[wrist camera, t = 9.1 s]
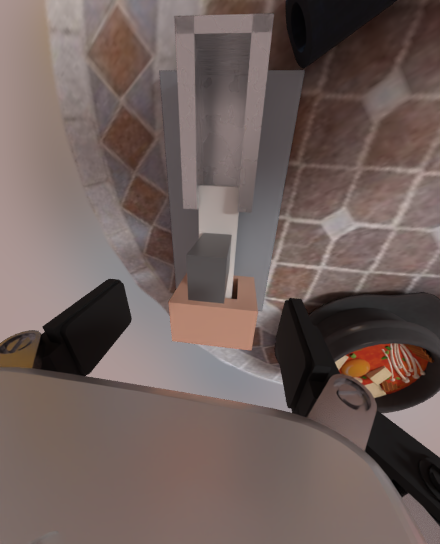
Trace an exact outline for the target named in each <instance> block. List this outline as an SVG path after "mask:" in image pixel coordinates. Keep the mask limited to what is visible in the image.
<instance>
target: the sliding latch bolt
mask: <svg viewBox="0 0 440 544" xmlns="http://www.w3.org/2000/svg"><path fill="white" fill-rule="evenodd" d="M198 191H199V239H198V240H197V242H196V243H195V244H194V246H193V247H192V248H191V250H190V251H189V252H188V253H187V255H186V261H187V284H188V300H193V301H203V302H213V303H223V304H224V301H225V298H228V299H232V288H233V276H234V264H235V252H236V240H237V228H238V216H239V212H237V210H238V197H239V186H221V185H198Z"/></svg>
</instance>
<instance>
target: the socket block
mask: <svg viewBox="0 0 440 544" xmlns="http://www.w3.org/2000/svg"><path fill="white" fill-rule="evenodd" d="M168 304H169V313H170V323H171V333H172V341H177V342H185V343H193V344H201V345H210V346H218V347H226V348H235V349H243V350H252V344H253V338H254V332H255V326H256V320H257V314H258V308H257V299H256V290H255V282H254V277H246V276H235V275H234V276H233V288H232V299H228V298H225V301H224V304H223V303H213V302H203V301H193V300H188V284H187V273H186V275H185V276H184V278H183V279H182V281H181V283H180V284H179V286H178V288H177V289H176V291H175V292H174V294H173V296H172V297H171V299H170V300H169V302H168Z"/></svg>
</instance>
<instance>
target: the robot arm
mask: <svg viewBox="0 0 440 544" xmlns="http://www.w3.org/2000/svg"><path fill="white" fill-rule="evenodd" d="M130 323H131V314H130V309H129V306H128V301H127V297H126V293H125V288H124V284H123V283H121V281H120V280H116V279H108V280H106V281H105V282H103V283H102V284H101V285H99V286H98V287H97V288H95V289H94V290H93V291H91V292H90V293H88V294H87V295H85V296H84V297H83V298H81V299H80V300H79V301H77V302H76V303H74V304H73V305H72V306H71V307H69V308H68V309H66V310H65V311H63V312H62V313H61V314H59V315H58V316H57V317H55V318H54V319H52V320H51V321H50V322H48V323H47V324H45V325H44V326H43V329H44V331H45V332H44V333H43V334H42V335H41V333H40V332H39V331H35V330H29V331H25V332H21V333H18V334H15V335H13V336H11V337H9V338H7V339H5V340H4V341H2V342H1V343H0V544H440V458H439V457H438V456H437V455H435V454H434V453H433V452H431V451H430V450H429V449H427V448H426V447H425V446H423V445H422V444H421V443H420V442H418V441H417V440H416V439H414V438H413V437H412V436H410V435H409V434H408V433H406V432H405V431H403V430H402V429H401V428H400V427H398V426H397V425H396V424H395V423H393V422H392V421H390V420H389V419H388V418H387V417H385V416H384V415H383V414H381V413H380V412H379V411H377V404H376V401H375V399H374V397H373V395H372V394H371V392H370V391H369V390H368V389H367V388H366V387H365V386H364V385H363V384H362V383H360V382H359V381H358V380H356V379H354V378H352V377H350V376H347V375H344V374H340V372H339V370H338V368H337V366H336V364H335V361H334V359H333V357H332V355H331V353H330V351H329V349H328V347H327V345H326V343H325V340H324V338H323V336H322V334H321V332H320V330H319V328H318V327H317V326H314V325H313V324H312V322H311V320H310V317H309V315H308V313H307V311H306V308H305V306H304V304H303V302H302V300H301V299H295V298H289V301H288V300H286V301H285V303H284V307H283V311H282V315H281V319H280V324H279V328H278V332H277V336H276V345H277V351H278V356H279V362H280V368H281V374H282V379H283V385H284V391H285V397H286V402H287V406H288V408H291V409H292V413H290V412H286V411H282V410H277V409H273V408H268V407H263V406H257V405H252V404H247V403H242V402H236V401H231V400H225V399H219V398H213V397H207V396H202V395H195V394H190V393H184V392H178V391H172V390H166V389H160V388H154V387H148V386H142V385H136V384H130V383H123V382H118V381H111V380H105V379H99V378H93V377H87V376H86V375H87V374H89V373H90V372H91V371H92V370H93V369H94V368H95V366H96V365H97V364H98V363H99V361H100V360H101V359H102V358H103V356H104V355H105V354H106V353H107V351H108V350H109V349H110V348H111V347H112V345H113V344H114V343H115V342H116V340H117V339H118V338H119V337H120V335H121V334H122V333H123V332H124V330H125V329H126V328H127V327H128V325H129V324H130Z"/></svg>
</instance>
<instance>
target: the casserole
mask: <svg viewBox="0 0 440 544" xmlns="http://www.w3.org/2000/svg"><path fill="white" fill-rule="evenodd" d="M309 317H310V320H311V322H312V324H313V325H314V326H317V327H318V328H319V330H320V332H321V334H322V336H323V338H324V340H325V343H326V345H327V347H328V349H329V351H330V353H331V355H332V357H333V359H334V361H335V364H336V366H337V368H338V370H339V372H340V374H344V375H347V376H350V377H352V378H354V379H356V380H358V381H359V382H360V383H362V384H363V385H364V386H365V387H366V388H367V389H368V390H369V391H370V392H371V394H372V395H373V397H374V399H375V401H376V404H377V411H379V412H380V413H389V412H394V411H399V410H403V409H407V408H410V407H413V406H415V405H418V404H420V403H422V402H424V401H426V400H428V399H429V398H431V397H433V396H434V395H435V394H436V393H437V392H439V391H440V299H439V298H437V297H436V296H434V295H432V294H428V293H424V292H421V293H411V294H401V295H371V294H363V295H354V296H348V297H345V298H341V299H337V300H334V301H332V302H330V303H327V304H325V305H323V306H321V307H320V308H318V309H316V310H315V311H313V312H312V313H311V314H310V315H309ZM274 350H275V355H276V358H277V360H278V363H279V364H280V362H279V356H278V351H277V345H276V343H275V349H274Z"/></svg>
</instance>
